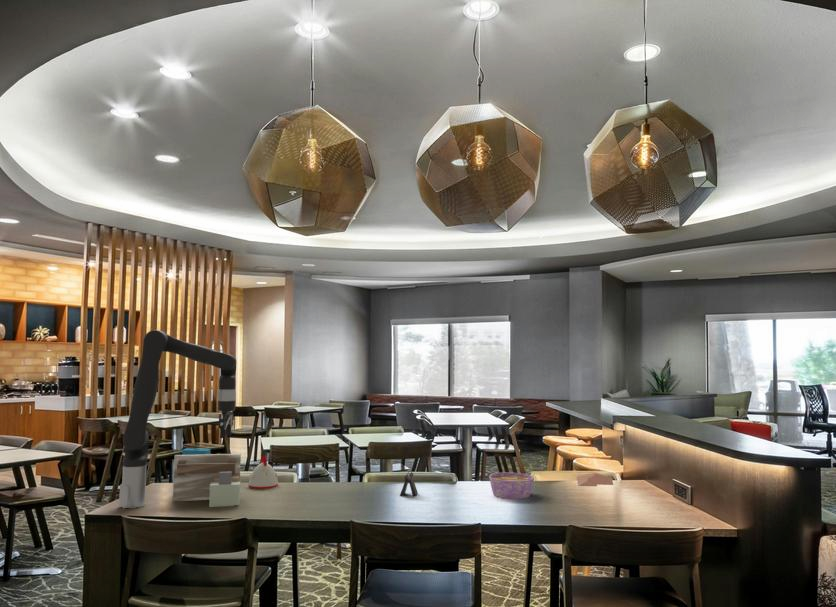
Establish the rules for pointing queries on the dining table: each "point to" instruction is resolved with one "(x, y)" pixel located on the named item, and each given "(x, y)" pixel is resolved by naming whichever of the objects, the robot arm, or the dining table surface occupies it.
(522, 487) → the bowl of food
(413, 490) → the dark grey angled piece
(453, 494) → the dining table surface
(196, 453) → the block
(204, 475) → the grey brown rectangular box
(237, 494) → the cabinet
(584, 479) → the house
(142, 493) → the robot arm
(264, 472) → the kitchen timer
